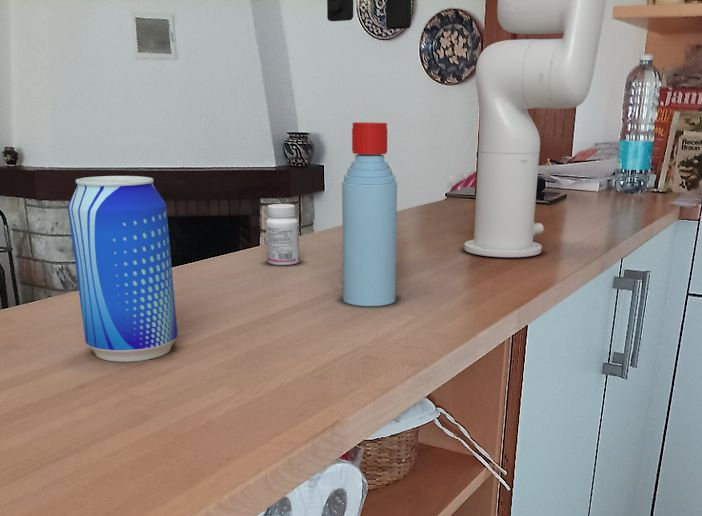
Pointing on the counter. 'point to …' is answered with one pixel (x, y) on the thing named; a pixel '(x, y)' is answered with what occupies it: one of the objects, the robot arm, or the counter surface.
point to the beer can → (123, 267)
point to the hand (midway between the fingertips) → (370, 24)
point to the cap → (369, 138)
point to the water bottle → (369, 232)
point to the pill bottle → (282, 235)
